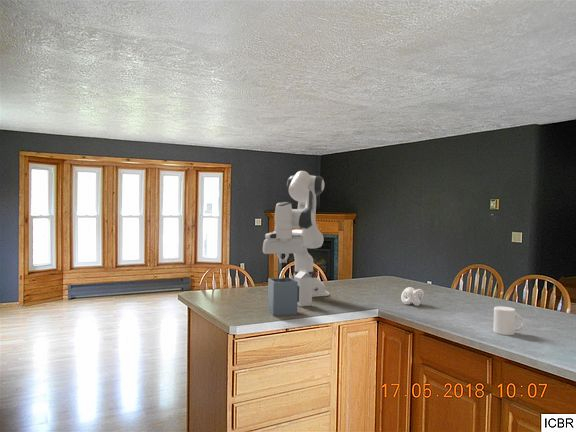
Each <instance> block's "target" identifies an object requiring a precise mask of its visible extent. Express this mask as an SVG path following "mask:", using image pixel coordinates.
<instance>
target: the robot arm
mask: <svg viewBox="0 0 576 432" xmlns="http://www.w3.org/2000/svg"><path fill="white" fill-rule="evenodd" d="M286 188H287V190H288V194H289V196H290V197H291V198H292V199H293V200H294V201H296V202H297V208H293V207H292V203H291V202H289V201H282V202H277V203H276V205H275V210H274V223H275V224H274V231H271V232H268V233H267V232H266V233H265V235H264V238H265V239H264V240H263V242H262V243H263V244H262V253H263V254H265V255H272V254H273V255H275V254H276V256H277V258H278V262H279V264H282V263H283V264H284V263H285V264H287V263H288V262H287V261H288V258H289V256H290V254H293V258H294V259H293V260H294V271H293V277H294V276H295V275H296V274H297V273H298V272H299V271H300V269H303V270H307V272H308V273H309V275H310V276H311V277H312V298H315V297H316V298H317V297H326V296H327V297H328V296H330V292H329V291H327V290H326V286H325V285H326V284H324V283H323V282H322V281H321V280H320V279H319V278H317V276H319V274H320V273H319V272H317V271H314V258H313V256H312V255H311V254H310V253H309V252H308V249H318V248H321V247H322V246H323V244H324V240H325V239H324V235H323V233H322V232H321V231H320V230H319V227H318V225H317V220H316V218H317V217H316V215H317V214H316V211H317V197H318V196H319V195H321V194H322V192H323V191H324V189H325V181H324V178H323V177H322V176H320V175H311V174H310V173H308V171H306V170H298V171H297V172H296V173H295V174H294V175H290V176H289V177H288V178H287V182H286ZM282 254H283V255H284V256H285V257H284V258H281V256H282Z"/></svg>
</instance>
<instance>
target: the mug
mask: <svg viewBox="0 0 576 432" xmlns="http://www.w3.org/2000/svg"><path fill="white" fill-rule="evenodd" d="M516 317H517V318H518V319H520V321H521V324H520V325H519V326H516ZM525 325H526V324H525V320H524V318H523V317H522V316H521V314H520V313H518V312H517V311H516V309H515V308H513V307H509V306H502V305H501V306H494V307H493V328H492V329H493V332H494V333H496V334H497V335H503V336H514V335H515V334H516V332H518V331H522V330H523V329H524V328H525Z"/></svg>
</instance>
